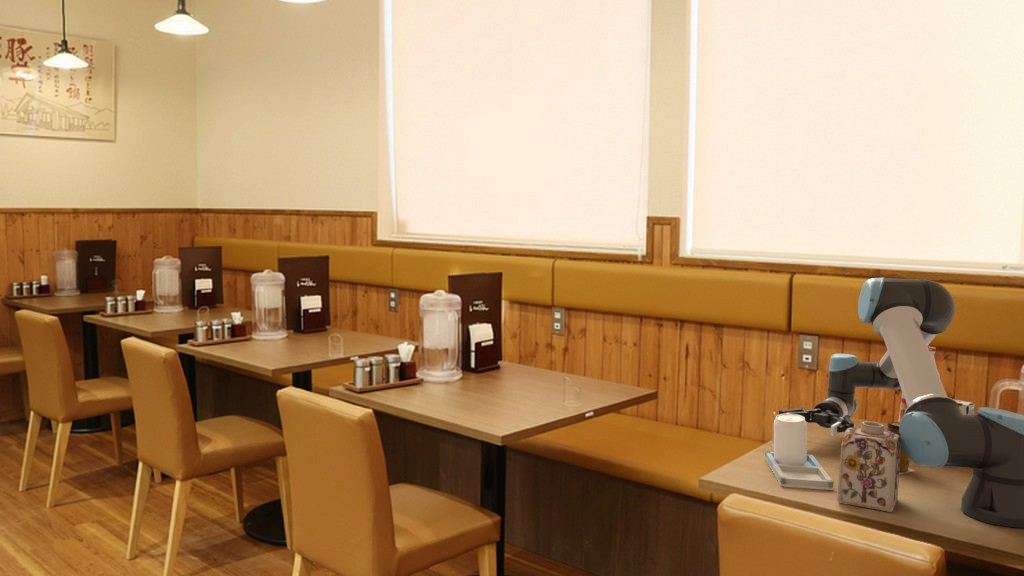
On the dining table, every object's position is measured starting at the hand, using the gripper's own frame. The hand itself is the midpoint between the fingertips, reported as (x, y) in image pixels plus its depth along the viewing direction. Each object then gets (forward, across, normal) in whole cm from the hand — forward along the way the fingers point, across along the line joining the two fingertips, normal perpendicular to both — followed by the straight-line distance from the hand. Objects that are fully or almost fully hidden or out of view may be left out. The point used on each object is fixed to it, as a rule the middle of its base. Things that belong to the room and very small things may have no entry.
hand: (805, 426), depth 221 cm
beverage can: (+9, 0, -8) cm, 12 cm away
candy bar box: (-29, -29, -9) cm, 42 cm away
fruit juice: (-42, -18, -9) cm, 47 cm away
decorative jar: (+24, -22, -9) cm, 34 cm away
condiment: (-8, -21, -9) cm, 24 cm away
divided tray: (+14, -3, -9) cm, 17 cm away
